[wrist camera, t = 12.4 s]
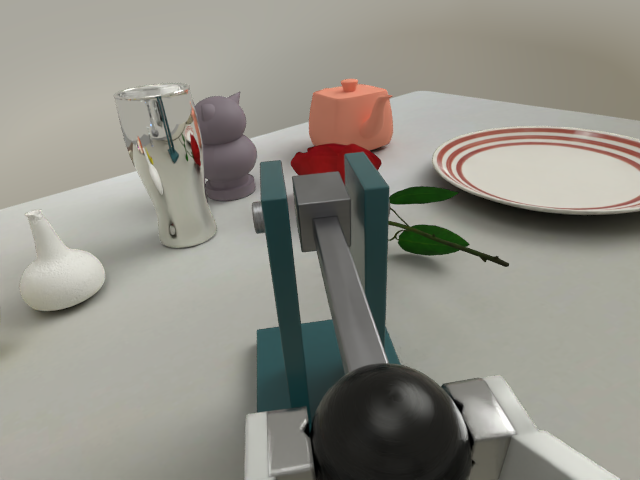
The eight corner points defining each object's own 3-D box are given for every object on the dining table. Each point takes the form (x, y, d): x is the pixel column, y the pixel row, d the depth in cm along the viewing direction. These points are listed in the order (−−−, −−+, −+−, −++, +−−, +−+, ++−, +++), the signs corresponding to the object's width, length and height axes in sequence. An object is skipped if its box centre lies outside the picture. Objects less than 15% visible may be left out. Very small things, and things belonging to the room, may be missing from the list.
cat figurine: (224, 175, 59) (208, 88, 53) (272, 180, 56) (261, 89, 50) (187, 200, 52) (163, 103, 46) (239, 207, 50) (221, 105, 44)
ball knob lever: (486, 555, 9) (523, 471, 7) (324, 587, 9) (315, 508, 7) (354, 224, 21) (353, 157, 19) (283, 232, 20) (275, 165, 18)
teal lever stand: (442, 488, 20) (486, 226, 13) (260, 520, 20) (193, 261, 12) (380, 325, 31) (383, 126, 23) (259, 341, 30) (222, 142, 22)
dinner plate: (572, 267, 35) (582, 234, 34) (388, 171, 57) (389, 148, 55) (741, 194, 45) (756, 165, 43) (530, 135, 66) (534, 115, 65)
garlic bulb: (43, 330, 32) (-4, 243, 28) (20, 299, 36) (-24, 218, 32) (121, 291, 36) (90, 210, 32) (93, 266, 40) (62, 191, 36)
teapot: (351, 129, 75) (350, 69, 70) (418, 155, 62) (423, 82, 57) (296, 142, 71) (290, 78, 65) (356, 172, 57) (355, 95, 52)
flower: (547, 160, 26) (308, 116, 50) (453, 265, 24) (252, 168, 48) (566, 248, 32) (342, 171, 55) (489, 339, 30) (293, 220, 53)
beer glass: (217, 247, 42) (183, 94, 34) (147, 253, 41) (98, 100, 34) (224, 216, 48) (197, 80, 40) (164, 222, 47) (125, 85, 40)
